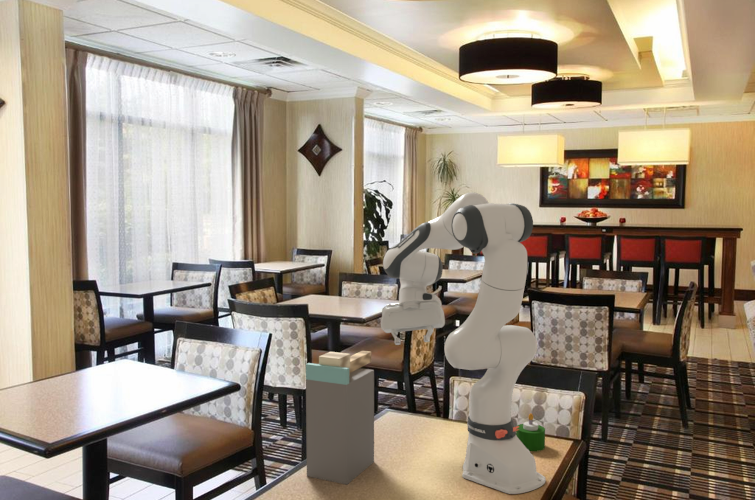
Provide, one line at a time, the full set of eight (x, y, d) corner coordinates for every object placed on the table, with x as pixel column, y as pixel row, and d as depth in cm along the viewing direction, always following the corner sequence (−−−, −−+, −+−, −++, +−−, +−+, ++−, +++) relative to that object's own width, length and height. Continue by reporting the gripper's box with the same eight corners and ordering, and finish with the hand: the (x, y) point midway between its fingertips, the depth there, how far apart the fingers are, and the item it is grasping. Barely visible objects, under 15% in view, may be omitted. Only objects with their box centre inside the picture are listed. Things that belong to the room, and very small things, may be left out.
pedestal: (336, 454, 186) (335, 351, 184) (374, 461, 181) (373, 355, 178) (306, 476, 171) (305, 364, 169) (347, 484, 166) (346, 369, 164)
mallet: (357, 360, 189) (357, 340, 189) (376, 362, 187) (376, 341, 186) (319, 379, 170) (318, 356, 169) (339, 381, 167) (339, 358, 167)
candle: (510, 443, 194) (510, 410, 194) (533, 439, 198) (533, 407, 197) (527, 453, 187) (527, 419, 186) (550, 449, 190) (551, 415, 189)
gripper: (378, 301, 207) (376, 342, 201) (440, 293, 200) (440, 336, 193) (386, 308, 212) (384, 349, 206) (446, 301, 205) (446, 343, 198)
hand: (411, 342), depth 199 cm, fingers open, 8 cm apart
